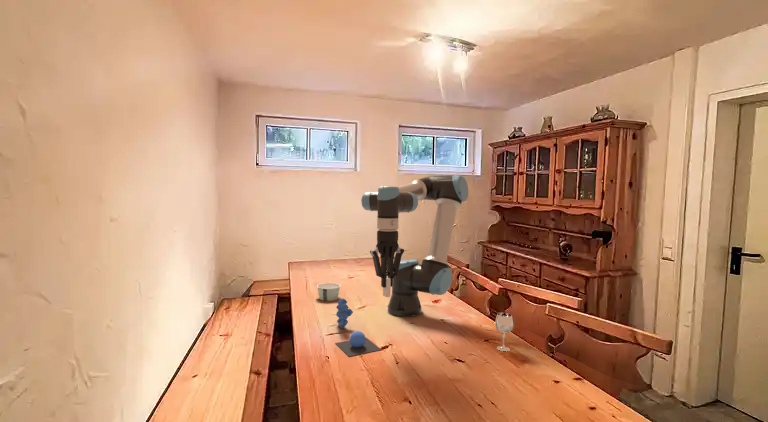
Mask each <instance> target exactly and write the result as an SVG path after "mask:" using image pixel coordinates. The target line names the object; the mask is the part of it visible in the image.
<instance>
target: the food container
mask: <svg viewBox="0 0 768 422" xmlns="http://www.w3.org/2000/svg"><path fill="white" fill-rule="evenodd" d="M316 287H317V292H318V298H319V300H321V301H323V302H324V301H325V302H331V301H336V300H338V299H339V295H340V289H341V287H342V285H341V284H340V283H337V282H322V283H318V284H317V285H316Z"/></svg>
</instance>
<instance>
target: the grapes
mask: <svg viewBox="0 0 768 422" xmlns="http://www.w3.org/2000/svg"><path fill="white" fill-rule="evenodd" d="M336 310H337V311H336V314H335V316H336V317H337V318H338V319H337V321H336V323H337V324H338V327H340V328H341V329H344V328H345V327H346V326H347V325H348V324H349V321H348V318H349V317H351V316H352V315H353V312H354V311H353V310H352V309H351V308H349V305H348V301H347V300H346V299H345V298H339V300H338V301H337V305H336Z"/></svg>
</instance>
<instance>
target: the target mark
mask: <svg viewBox="0 0 768 422" xmlns="http://www.w3.org/2000/svg"><path fill="white" fill-rule="evenodd" d="M365 338H366V341H365V344H364V345H363V346H362V347H360V348H355V347H353V346H352V345H351V344H350V339H349V340H344V341H339V342H335V343H334V344H335V345H336V346H337V347H338V348H339V349H340V350H341V351H342V352H343V353H344V354H345V355H346V356H347V357H348V358H350V357H355V356H359V355H360V356H361V355H365V354H369V353H374V352H378V351H382V348H380V347H379V346H378V345H377V344H375V343H374V342H373V341H371V340H370V339H369V338H368V337H366V336H365Z"/></svg>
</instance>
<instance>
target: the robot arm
mask: <svg viewBox="0 0 768 422" xmlns="http://www.w3.org/2000/svg"><path fill="white" fill-rule="evenodd" d="M468 197H469V185H468V181H467V180H466V178H465V176H463V175H461V174H460V175H459V174H457V175H455V174H451V175H447V174H446V175H429V176H425V177H421V178H418V179H415V180H412V181H411V182H409V183H407V184H403V185H399V186H391V185H390V186H388V185H387V186H386V185H384V186H383V185H382V186H379V187H378V188H377V191H367V192H364V193H363V194H362V197H361V201H360V202H361V206H362V208H363V209H364V210H365V211H369V212H377V216H376V217H377V218H376V222H377V223H376V229H377V231H376V245H375V248H374V249H371V250H370V251H369V253H370V255H371V256H372V261H373V264H374V270H375V275H376V276H377V277H379V278H380V283H381V288H382V296H384V297H385V298H389V301H388V305H387V313H389V315H393V316H397V317H403V318H404V317H405V318H407V317H416V316H418V315H420V314H422V305H421V301H420V298H419V292H421V293H426V294H429V295H433V296H434V295H437V296H443V295H445V294H446V293H447V292H448V291H449V289H450V288H451V285H452V282H453V271H452V270H451V268H450V264H449V263H448V254H449V250H450V246H451V245H450V244H451V240H452V236H453V231H454V225H455V220H456V215H457V210H458V209H460V208H461V207H462V203H463V202H466V201H468V199H469V198H468ZM424 200H426V201H435V204H436V205H437V206H436V207H437V208H436V213H435V216H434V217H435V218H434V222H433V226H432V231H431V237H430V241H429V244H428V245H429V246H428V250H427V255H426V256H425V257H424V258H423V259H422V262H421V264H420V262H419V260H417V259H402V256H403V254H404V253H405V249H404V248H401V247H400V245H399V243H398V241H399V231H398V229H399V213H412V212H414V211H416V209H417V208H418V205H419V201H424ZM379 255H380V256H379Z"/></svg>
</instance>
